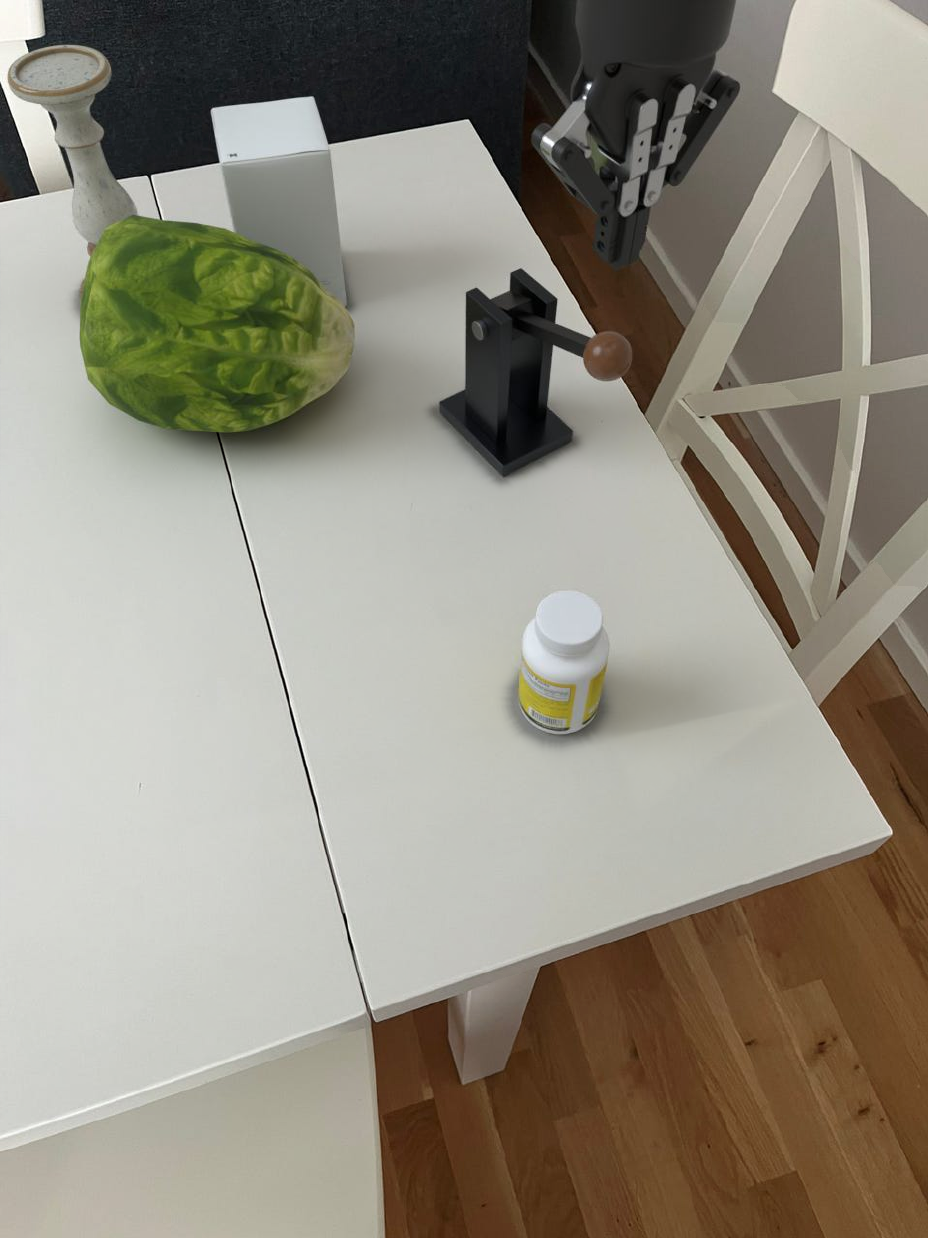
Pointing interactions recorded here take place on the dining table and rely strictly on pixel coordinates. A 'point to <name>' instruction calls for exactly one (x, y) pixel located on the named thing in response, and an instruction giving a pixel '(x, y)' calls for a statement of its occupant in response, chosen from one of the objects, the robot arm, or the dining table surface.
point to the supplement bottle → (563, 663)
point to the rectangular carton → (282, 183)
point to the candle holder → (76, 129)
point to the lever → (569, 338)
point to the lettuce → (207, 327)
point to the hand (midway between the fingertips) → (616, 259)
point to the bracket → (507, 383)
